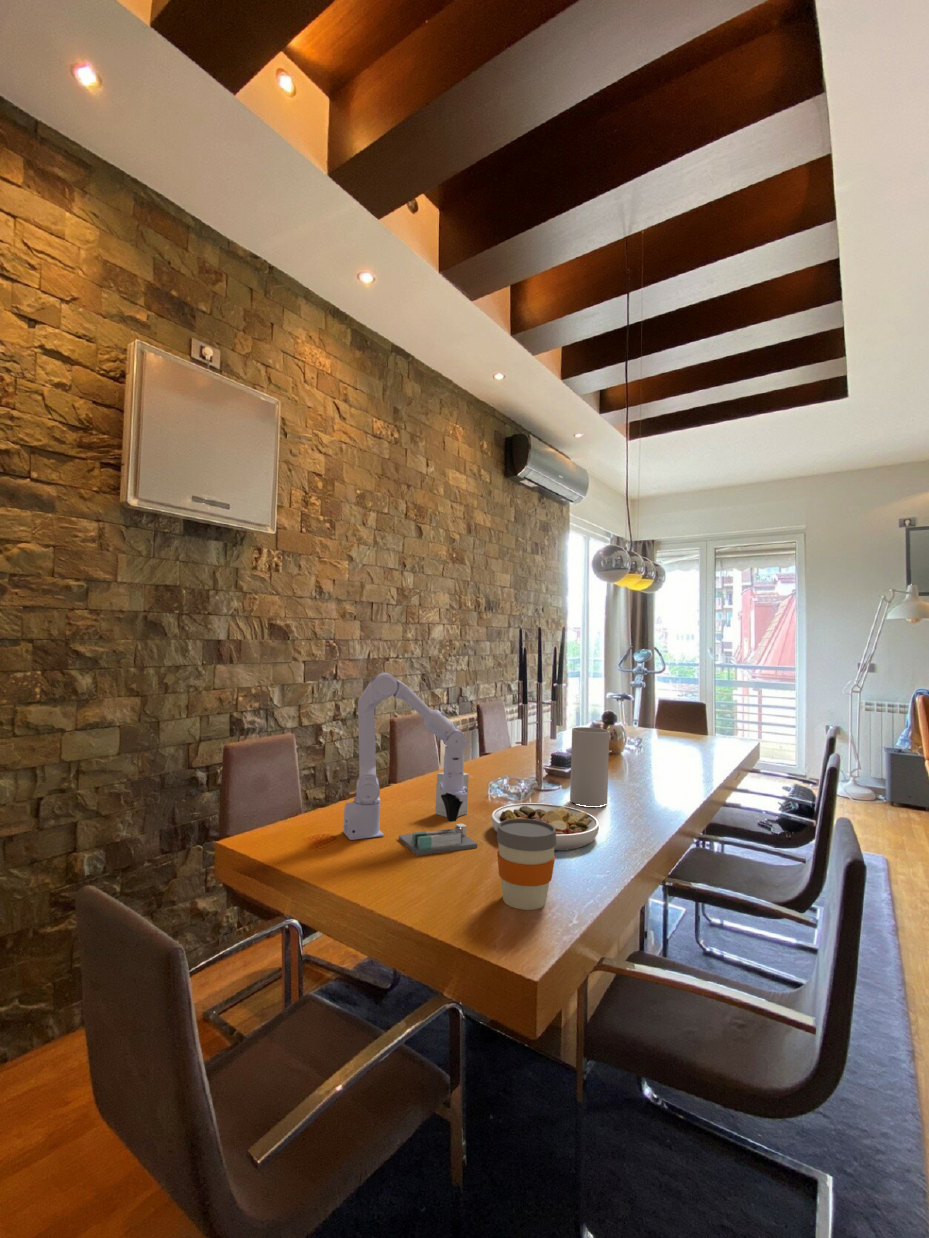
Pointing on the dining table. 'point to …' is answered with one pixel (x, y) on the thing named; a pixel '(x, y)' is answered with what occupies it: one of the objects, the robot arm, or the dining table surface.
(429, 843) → the tongs fixed
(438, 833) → the tong arm
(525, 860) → the reusable coffee cup
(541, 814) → the bowl
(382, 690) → the robot arm
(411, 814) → the dining table surface
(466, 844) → the slate board
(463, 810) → the supplement box
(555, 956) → the dining table surface
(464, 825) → the tab
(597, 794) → the cylinder vase
